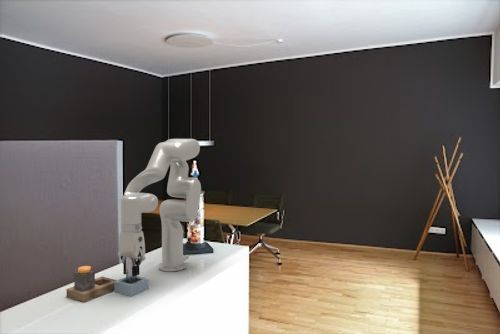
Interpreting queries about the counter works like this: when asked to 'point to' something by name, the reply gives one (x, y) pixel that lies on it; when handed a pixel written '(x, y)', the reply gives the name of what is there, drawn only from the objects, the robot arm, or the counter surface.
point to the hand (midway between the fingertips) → (131, 273)
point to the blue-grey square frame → (131, 286)
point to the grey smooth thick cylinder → (130, 271)
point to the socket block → (89, 287)
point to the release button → (84, 269)
